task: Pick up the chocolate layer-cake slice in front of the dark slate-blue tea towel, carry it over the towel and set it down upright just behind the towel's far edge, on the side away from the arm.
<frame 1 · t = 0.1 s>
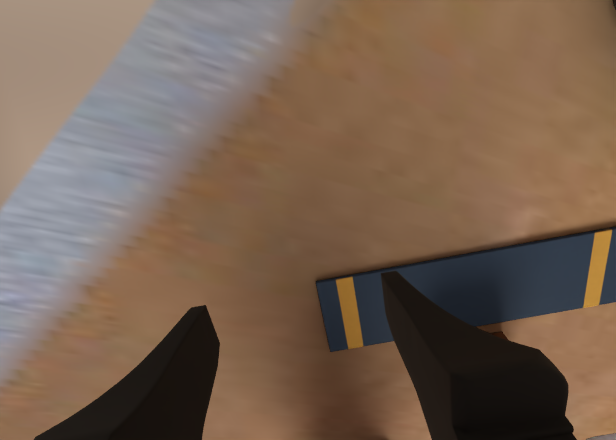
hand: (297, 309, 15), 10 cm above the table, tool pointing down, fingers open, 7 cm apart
cloth: (470, 290, 28), on the table
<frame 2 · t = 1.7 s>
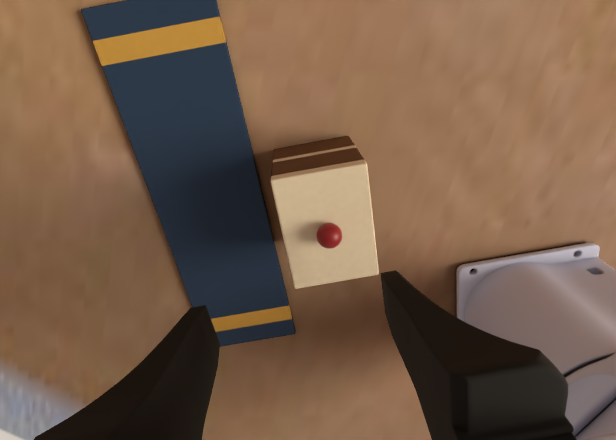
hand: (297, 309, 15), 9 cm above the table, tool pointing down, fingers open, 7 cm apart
cloth: (210, 202, 23), on the table
cake slice: (319, 190, 23), on the table
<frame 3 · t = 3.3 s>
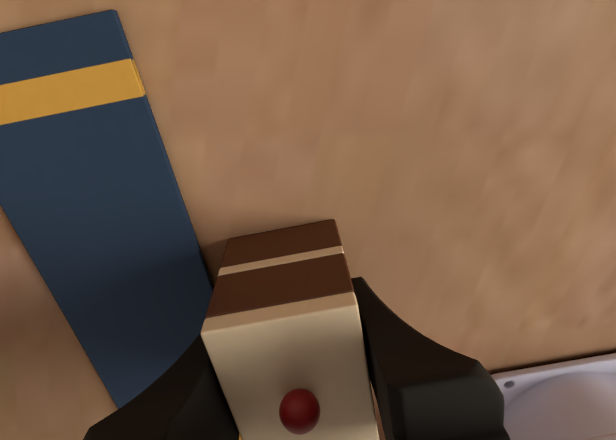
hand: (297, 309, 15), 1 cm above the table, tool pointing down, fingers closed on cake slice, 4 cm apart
cloth: (144, 306, 17), on the table
cake slice: (295, 288, 17), on the table, touching gripper
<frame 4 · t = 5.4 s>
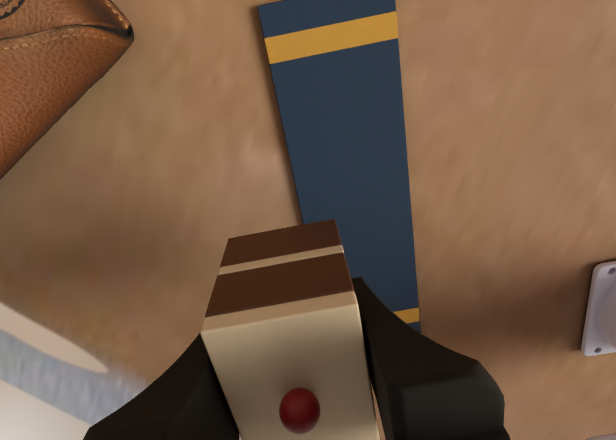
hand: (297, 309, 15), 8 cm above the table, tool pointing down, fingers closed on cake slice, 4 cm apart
cloth: (354, 202, 23), on the table
cake slice: (295, 288, 17), point 7 cm above the table, touching gripper
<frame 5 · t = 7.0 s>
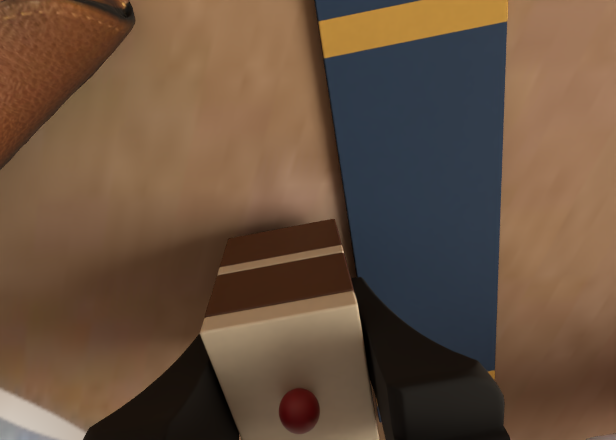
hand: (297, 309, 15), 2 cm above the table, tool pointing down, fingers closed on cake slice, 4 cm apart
cloth: (424, 242, 17), on the table
cake slice: (295, 288, 17), point 1 cm above the table, touching gripper
when the fingers open (1 cm above the table, at t = 7.8 s): cake slice stays where it is, on the table.
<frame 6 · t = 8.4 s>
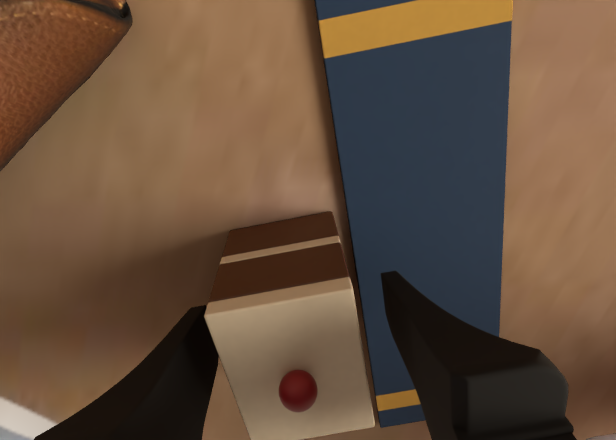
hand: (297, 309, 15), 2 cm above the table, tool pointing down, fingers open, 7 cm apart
cloth: (426, 246, 17), on the table
cake slice: (294, 279, 17), on the table
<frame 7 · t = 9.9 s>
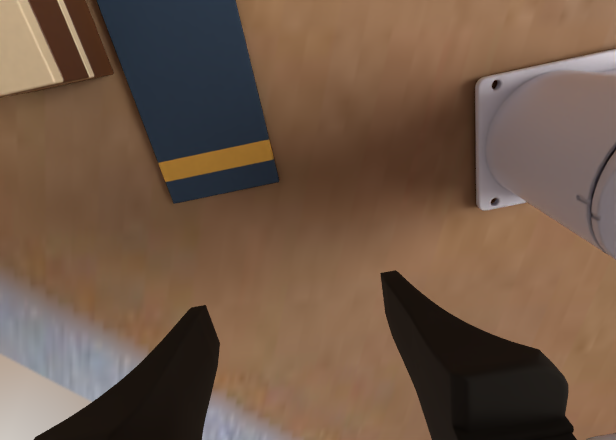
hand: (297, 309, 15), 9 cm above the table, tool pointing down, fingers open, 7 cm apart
cake slice: (46, 19, 19), on the table
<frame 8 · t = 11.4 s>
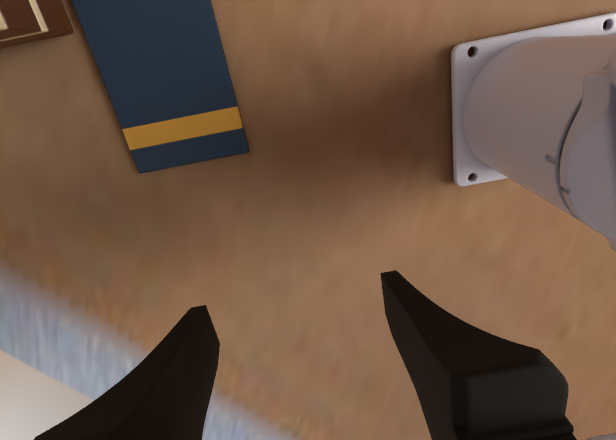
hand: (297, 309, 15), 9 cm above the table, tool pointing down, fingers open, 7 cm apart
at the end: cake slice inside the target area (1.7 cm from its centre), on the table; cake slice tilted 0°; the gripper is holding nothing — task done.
